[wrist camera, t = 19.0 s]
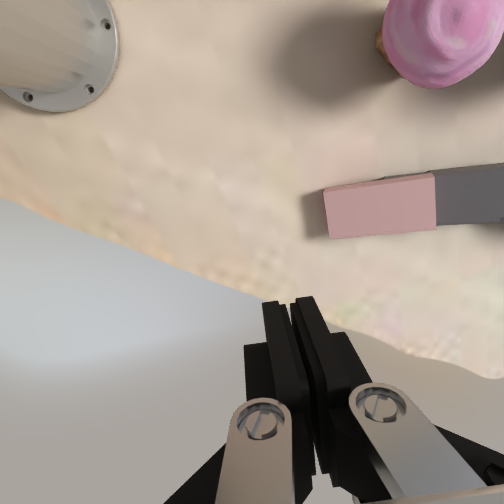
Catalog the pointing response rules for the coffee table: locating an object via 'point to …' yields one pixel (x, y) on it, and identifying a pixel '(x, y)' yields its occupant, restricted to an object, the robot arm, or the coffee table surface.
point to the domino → (467, 195)
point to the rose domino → (381, 207)
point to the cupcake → (439, 38)
